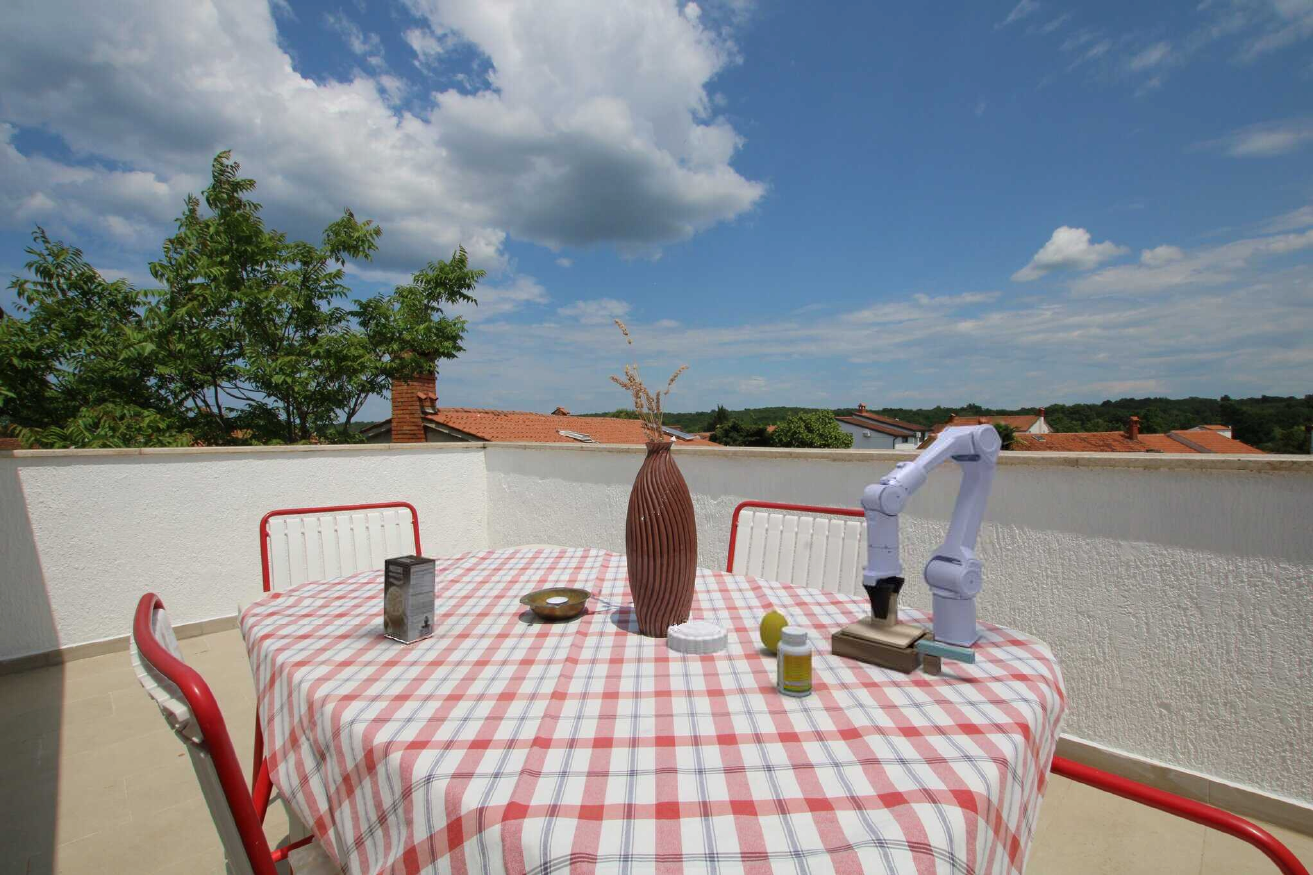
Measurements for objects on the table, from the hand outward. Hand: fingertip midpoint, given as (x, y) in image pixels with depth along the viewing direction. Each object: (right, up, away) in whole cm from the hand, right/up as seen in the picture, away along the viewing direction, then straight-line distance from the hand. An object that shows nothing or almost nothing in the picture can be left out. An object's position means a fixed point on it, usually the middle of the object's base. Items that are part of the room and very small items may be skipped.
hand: (884, 616), depth 106 cm
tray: (0, -6, -4) cm, 7 cm away
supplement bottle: (-22, -6, -19) cm, 30 cm away
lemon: (-22, -6, -3) cm, 23 cm away
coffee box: (-96, -7, +7) cm, 96 cm away
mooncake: (-36, -7, +3) cm, 37 cm away
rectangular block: (+5, -3, -13) cm, 14 cm away
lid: (-1, -2, -3) cm, 4 cm away
